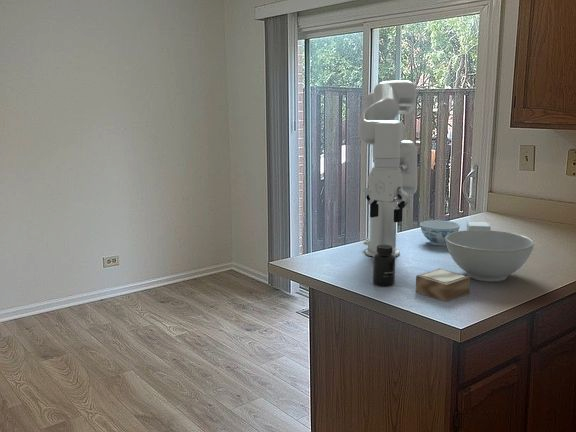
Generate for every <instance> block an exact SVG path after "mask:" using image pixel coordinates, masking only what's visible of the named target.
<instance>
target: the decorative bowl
mask: <svg viewBox="0 0 576 432" xmlns="http://www.w3.org/2000/svg"><path fill="white" fill-rule="evenodd" d="M445 241H446V245H445V246H446V249H447V250H448V254H449V255H450V256H451V259H452V260H453V261H454V263H455V264H456V265H457V266H458V267H459V268H460V269H461V270H462V271H464V272H466V276H468V277H470V279H473V280H476V281H482V282H502V281H505V280H506V279H507V278H508V276H510V275H512V274H514V273H516V272H517V271H518V270H520V269H521V268H522V267H523V266H524V264H525V263H526V262H527V261H528V259H530V255H531V254H532V252H533V249H534V246H535V242H534V240H533V239H531V238H529V237H528V236H525V235H522V234H518V233H515V232H514V233H513V232H508V231H502V230H501V231H500V230H491V229H490V230H467V229H466V230H458V232H453V233H450V234H448V235H447V236H446V237H445Z"/></svg>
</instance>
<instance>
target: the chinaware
mask: <svg viewBox="0 0 576 432" xmlns="http://www.w3.org/2000/svg"><path fill="white" fill-rule="evenodd" d="M460 227H461V225H460V224H459V223H457V222H455V221H450V220H439V219H437V220H435V219H433V220H425V221H422V222H420V230H421V233H422V234H423V236H424V237H425V238H426V240H428V241H429V242H430V245H434V246H447V245H446V241H445V237H446V236H447V235H448V234H450V233H453V232H458V231H460Z"/></svg>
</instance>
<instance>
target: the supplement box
mask: <svg viewBox="0 0 576 432" xmlns="http://www.w3.org/2000/svg"><path fill="white" fill-rule="evenodd" d="M466 230H491V224H490V223H488V222H486V221H467V222H466Z"/></svg>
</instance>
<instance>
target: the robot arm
mask: <svg viewBox="0 0 576 432" xmlns="http://www.w3.org/2000/svg"><path fill="white" fill-rule="evenodd" d="M417 94H418V93H417V87H416V86H415V84H414V82H412V81H411V80H387V81H381V82H379V83H377V84H376V85H375V87H374V89H373V91H372V92H369V93H367V95H366V97H365V109H364V110H363V111H362V113H361V115H360V117H359V122H358V137H359V141H360V142H361V143H362V144H364V145H367V146H368V145H372V153H371V155H372V163H373V167H371V171H370V172H369V174H368V176H367V177H368V178H367V183H368V187H367V188H365V189H364V194H365V198H366V200H367V201H368V205H369V238H366V239H365V240H364V241H363V245H365V246H367V248H366V249H365V250H364V253H365V254H366V255H367V256H370V257H374V255H375V254H377V246H378V245H390V246H392V247H393V249H392V251H393V253H392V254H393V255H394V256H395V258H396V257H398V256H399V255H401V251H400V250H399V249H398V248H397V246H396V245H397V244H396V243H397V223H401V222H403V213H404V211H403V209H405V207H406V206H407V204H408V202H409V200H410V196H412V195H414V194H415V193H416V192H417V189H418V151H417V146H416V143H415V142H413V141H412V140H407V139H405V138H406V134H407V133H406V132H407V131H406V126H405V124H404V123H403V121H401V120H398V119H397V120H396V117H397V116H398V115H409V114H411V113H412V112H413V111H414V109H415V106H416V102H417V97H418V96H417ZM400 167H402V168H400Z"/></svg>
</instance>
